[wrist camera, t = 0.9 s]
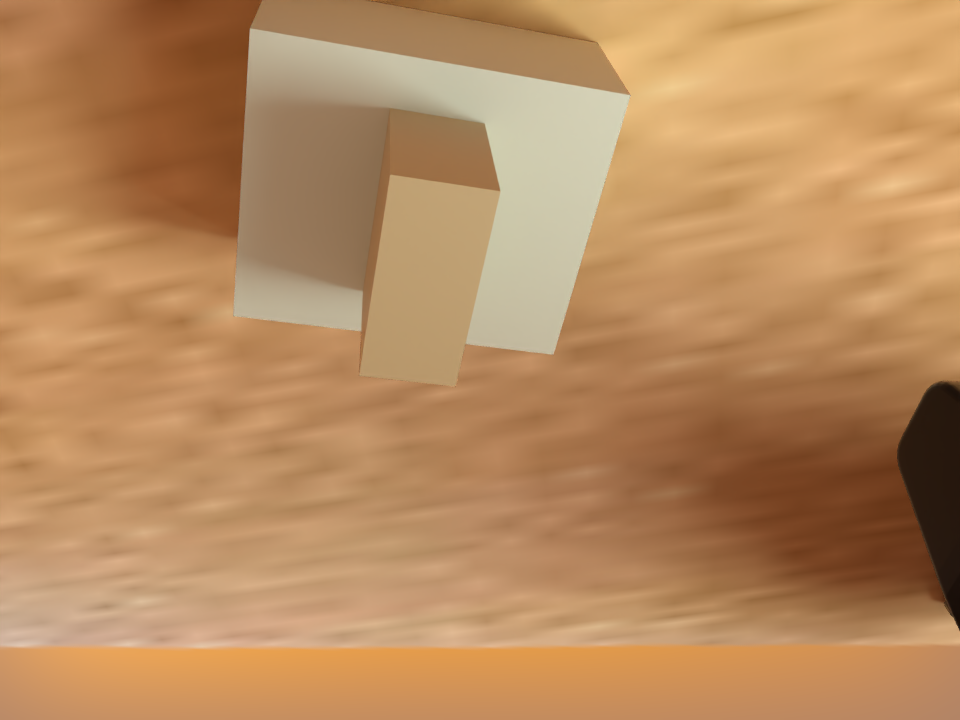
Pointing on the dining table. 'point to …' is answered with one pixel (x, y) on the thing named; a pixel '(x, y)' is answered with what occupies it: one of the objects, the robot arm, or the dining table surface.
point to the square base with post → (419, 179)
